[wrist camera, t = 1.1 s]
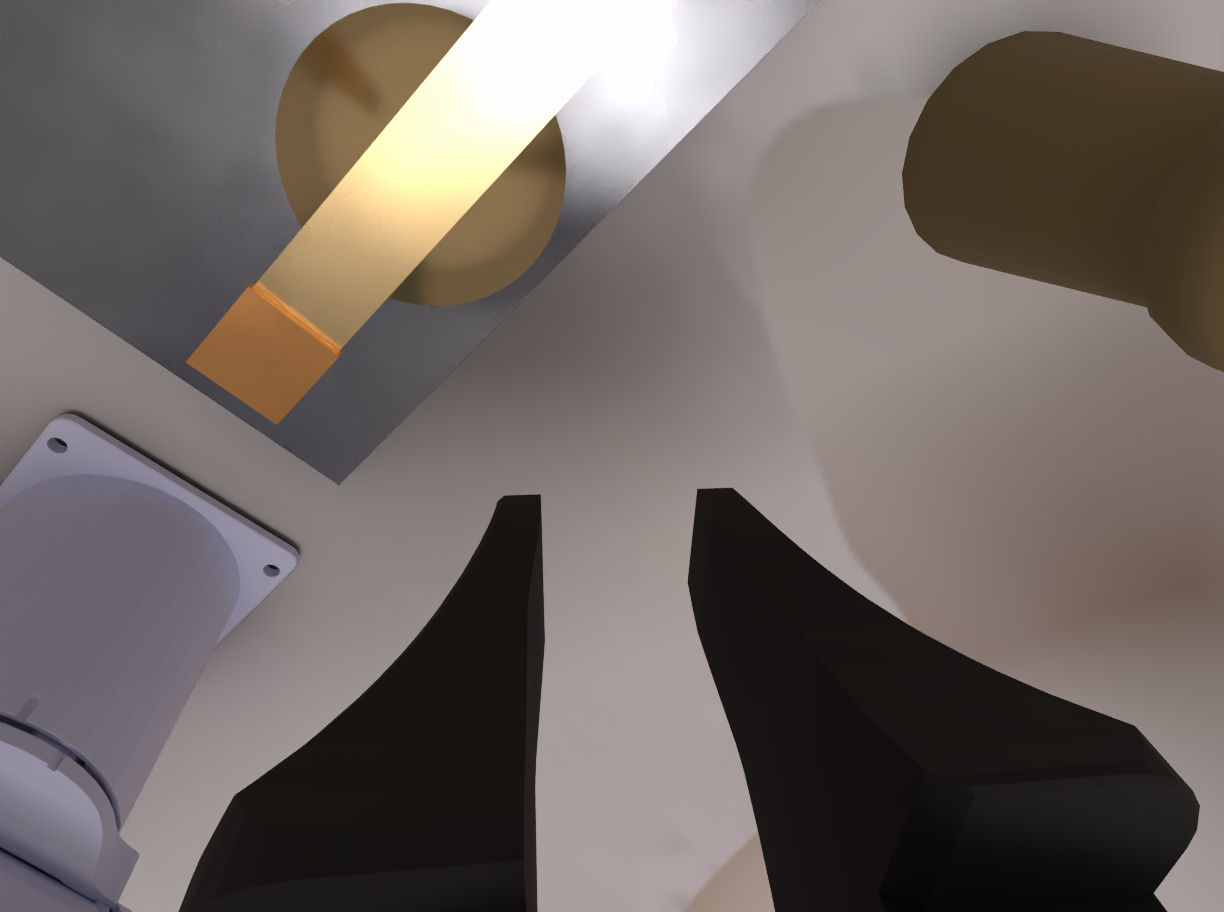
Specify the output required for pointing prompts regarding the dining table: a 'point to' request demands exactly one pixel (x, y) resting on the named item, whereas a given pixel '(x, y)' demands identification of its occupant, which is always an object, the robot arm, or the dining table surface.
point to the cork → (1081, 176)
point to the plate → (252, 188)
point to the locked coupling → (409, 175)
